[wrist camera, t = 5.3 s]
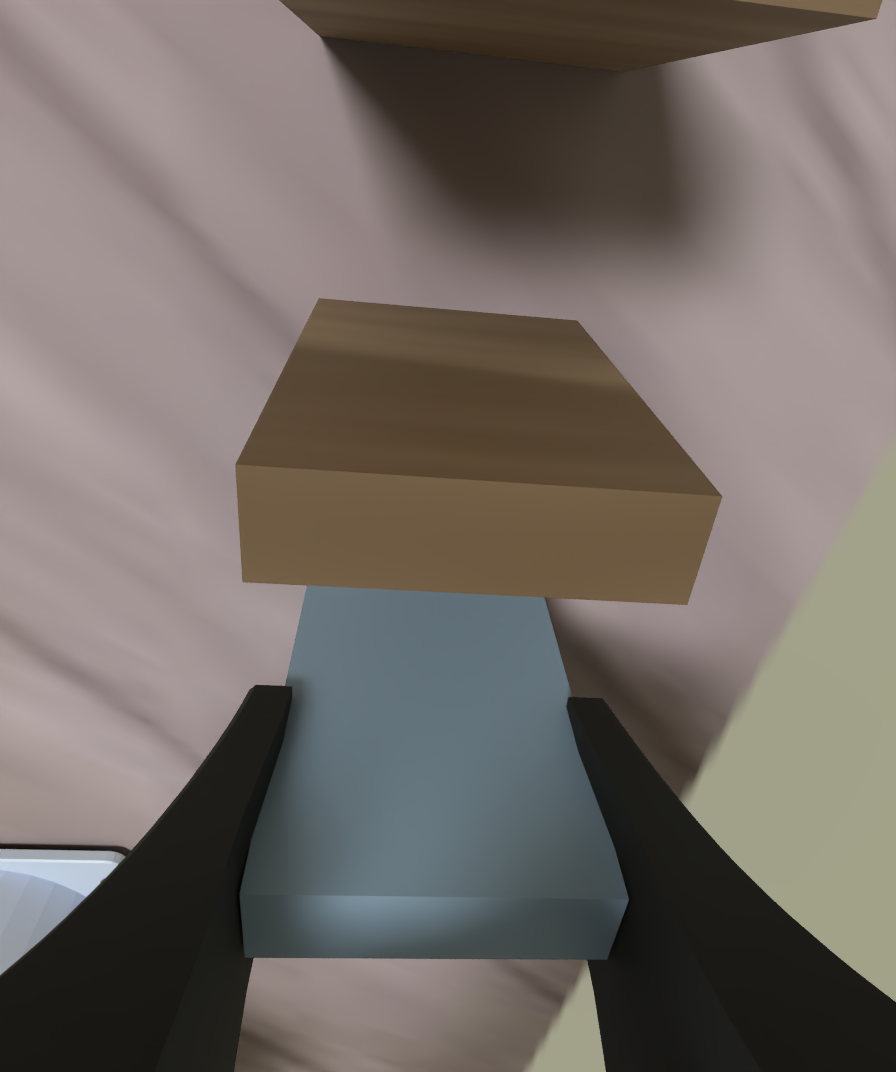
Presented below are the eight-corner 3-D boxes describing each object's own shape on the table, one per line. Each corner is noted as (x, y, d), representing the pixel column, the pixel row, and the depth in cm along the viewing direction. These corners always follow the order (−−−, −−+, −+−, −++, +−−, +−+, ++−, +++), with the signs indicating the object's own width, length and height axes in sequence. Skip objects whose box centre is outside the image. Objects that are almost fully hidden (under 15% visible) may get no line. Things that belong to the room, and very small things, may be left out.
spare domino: (529, 629, 16) (607, 959, 10) (311, 619, 16) (245, 958, 10) (539, 579, 16) (629, 899, 9) (311, 567, 15) (239, 894, 9)
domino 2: (564, 389, 15) (686, 604, 8) (319, 370, 14) (242, 582, 8) (577, 320, 14) (721, 495, 7) (319, 298, 13) (235, 464, 7)
